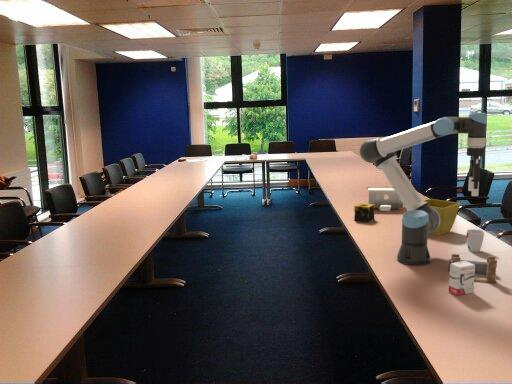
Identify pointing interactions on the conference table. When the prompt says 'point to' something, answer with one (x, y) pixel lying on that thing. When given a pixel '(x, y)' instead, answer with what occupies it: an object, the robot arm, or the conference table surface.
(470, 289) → the ink box
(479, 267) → the rail
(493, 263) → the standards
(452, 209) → the flower pot
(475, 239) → the cup
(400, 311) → the conference table surface
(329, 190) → the conference table surface
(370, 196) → the portable electronic device stand
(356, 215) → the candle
